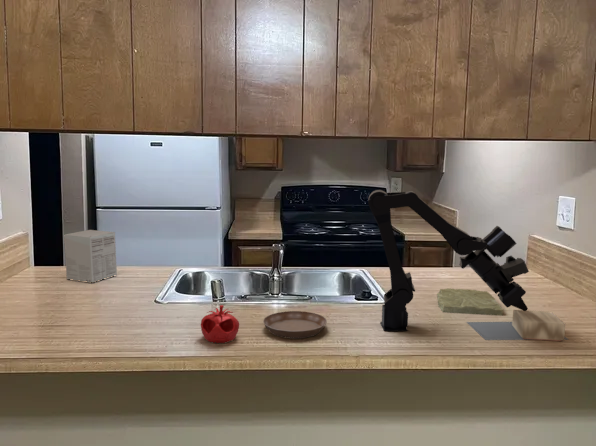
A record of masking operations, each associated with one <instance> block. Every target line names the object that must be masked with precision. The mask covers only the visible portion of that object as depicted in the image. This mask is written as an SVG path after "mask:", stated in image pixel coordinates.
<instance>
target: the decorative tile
mask: <svg viewBox="0 0 596 446" xmlns="http://www.w3.org/2000/svg"><path fill="white" fill-rule="evenodd" d="M436 296H437V307H438V308H439V309H440V311H441V312H442V313H447V314H449V313H450V314H461V315H462V314H463V315H464V314H466V315H483V316H500V317H501V316H503V315H504V309H503V308H502V307H501V305H500V303H499V302H498V301H497V299H495V297H494V296H493V295H492V294H491V293H490V292H488V291H486V290H484V291H483V290H477V289H467V288H466V289H465V288H444V289H443V288H440V289H439V292H437V294H436Z"/></svg>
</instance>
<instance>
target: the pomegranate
mask: <svg viewBox="0 0 596 446" xmlns="http://www.w3.org/2000/svg"><path fill="white" fill-rule="evenodd" d="M223 309H224V304H223V305H219V308H218V307H217V308H215V311H216V312H215V311H213V310H210V311H208V312H206V314H207V313H208V314H207V315H205V316H203V317H202V318H201V321H200V328H201V333H202V335H203V337H204V339H205V341H207V342H209V343H211V342H213V343H212V344H218V343H219V344H225V342H227V343H229V342H232V341H234V340H235V338H236V337H237V334H238V332H239V329H240V322H239V320H238V319H237V318H236V317H235V316H233V315H232V314H233V311H230V310H228V308H225V309H224V310H223ZM215 342H216V343H215Z"/></svg>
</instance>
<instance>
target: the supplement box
mask: <svg viewBox="0 0 596 446" xmlns="http://www.w3.org/2000/svg"><path fill="white" fill-rule="evenodd" d="M63 240H64V241H63V242H64V257H65V272H66V274H65V275H66V280H67V279H73V280H80V281H87V282H95V281H98V280H101V279H104V278H107V277H111V276H114V275H117V276H118V269H117V250H116V249H117V248H116V245H117V244H116V232H115V231H106V230H96V229H95V230H94V229H87V230H81V231H76V232H71V233H66V234H64V235H63ZM95 283H96V282H95Z"/></svg>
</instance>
